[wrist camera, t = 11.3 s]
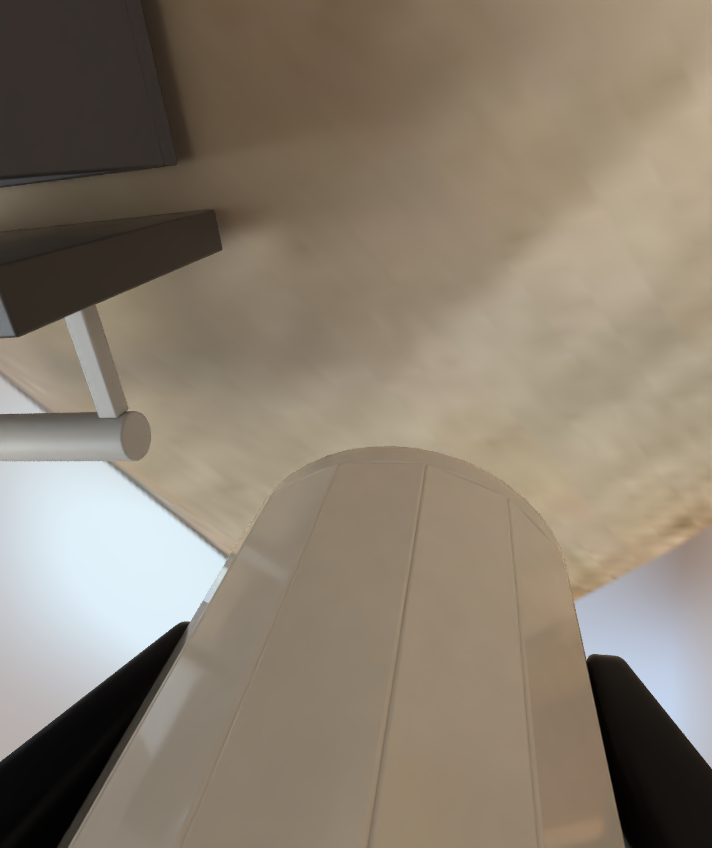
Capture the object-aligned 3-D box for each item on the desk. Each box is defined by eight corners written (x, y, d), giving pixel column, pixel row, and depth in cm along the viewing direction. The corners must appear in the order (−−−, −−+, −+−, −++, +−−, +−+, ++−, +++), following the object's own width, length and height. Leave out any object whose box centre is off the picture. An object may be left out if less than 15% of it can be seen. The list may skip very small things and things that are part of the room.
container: (312, 700, 11) (192, 1116, 6) (197, 476, 9) (-108, 847, 4) (592, 684, 10) (710, 1231, 5) (530, 406, 7) (628, 881, 3)
